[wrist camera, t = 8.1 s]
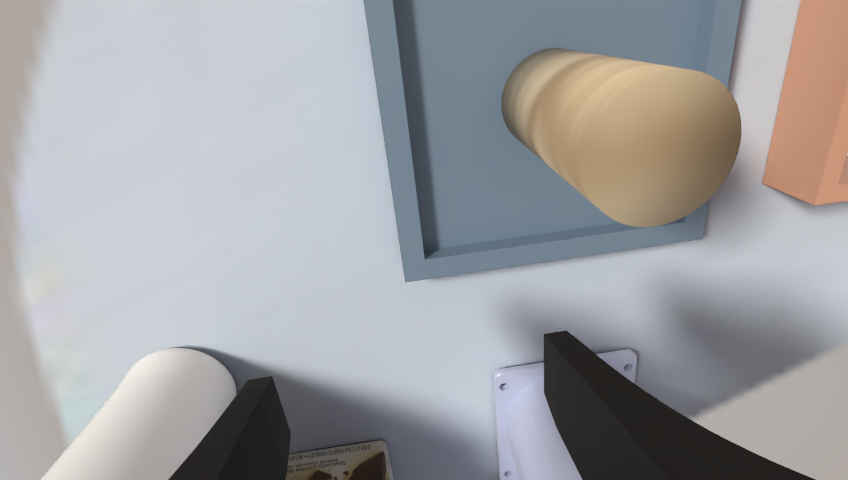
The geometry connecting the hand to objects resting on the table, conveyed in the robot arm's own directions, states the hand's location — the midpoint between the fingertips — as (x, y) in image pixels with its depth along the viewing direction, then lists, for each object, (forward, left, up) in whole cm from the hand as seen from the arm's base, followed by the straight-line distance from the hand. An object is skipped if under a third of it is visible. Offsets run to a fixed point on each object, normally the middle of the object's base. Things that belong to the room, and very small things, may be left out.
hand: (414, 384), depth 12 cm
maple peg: (+5, -7, -10) cm, 13 cm away
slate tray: (+5, -7, -10) cm, 14 cm away
